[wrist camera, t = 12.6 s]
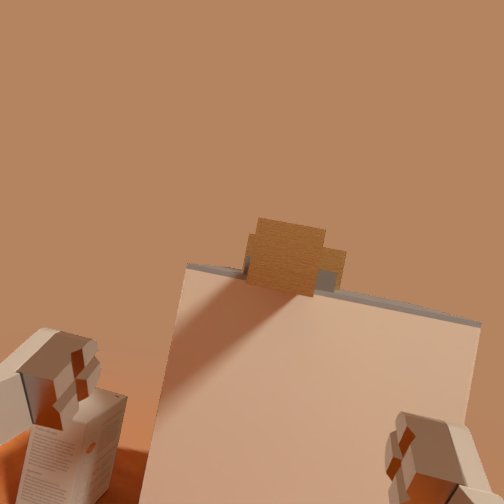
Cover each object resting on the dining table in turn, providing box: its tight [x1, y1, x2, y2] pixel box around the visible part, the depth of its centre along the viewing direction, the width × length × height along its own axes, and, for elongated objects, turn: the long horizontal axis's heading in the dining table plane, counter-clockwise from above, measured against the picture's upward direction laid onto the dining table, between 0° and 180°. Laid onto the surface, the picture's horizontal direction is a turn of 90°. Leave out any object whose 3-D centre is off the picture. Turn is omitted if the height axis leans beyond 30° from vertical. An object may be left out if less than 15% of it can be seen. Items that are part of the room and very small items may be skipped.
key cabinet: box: [139, 256, 482, 504], centre depth 37 cm, size 22×18×28 cm
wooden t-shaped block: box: [242, 218, 346, 298], centre depth 29 cm, size 10×26×4 cm, turn 173°
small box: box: [15, 387, 127, 504], centre depth 38 cm, size 8×6×10 cm
